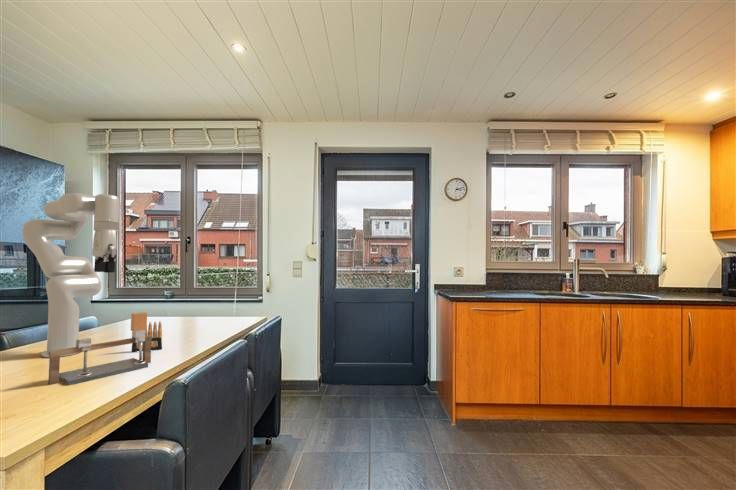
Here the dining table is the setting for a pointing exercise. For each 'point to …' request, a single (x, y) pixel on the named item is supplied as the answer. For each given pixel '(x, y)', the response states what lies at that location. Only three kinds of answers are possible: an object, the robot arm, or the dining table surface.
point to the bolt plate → (101, 371)
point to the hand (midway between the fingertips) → (104, 272)
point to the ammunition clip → (156, 338)
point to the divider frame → (85, 346)
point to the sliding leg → (139, 329)
